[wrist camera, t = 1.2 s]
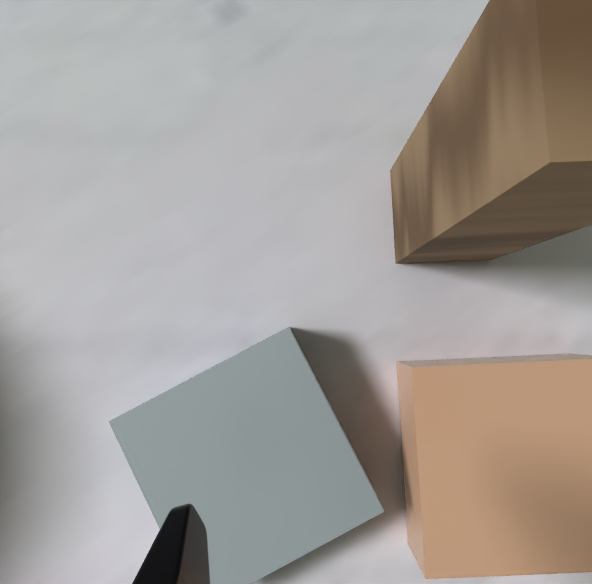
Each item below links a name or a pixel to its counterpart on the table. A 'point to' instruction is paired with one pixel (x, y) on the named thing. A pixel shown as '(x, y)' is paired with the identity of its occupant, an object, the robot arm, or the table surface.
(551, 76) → the walnut pillar
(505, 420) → the terracotta slab
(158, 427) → the stone slab
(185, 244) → the table surface
